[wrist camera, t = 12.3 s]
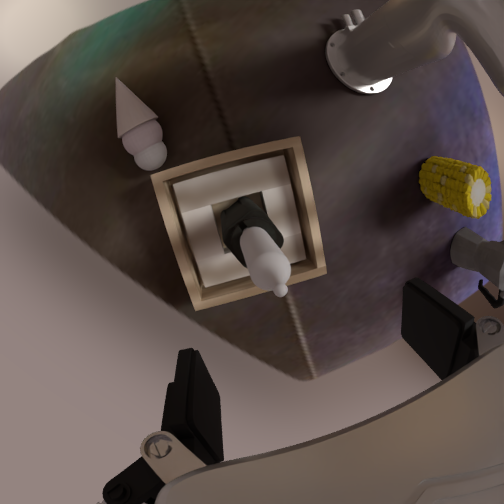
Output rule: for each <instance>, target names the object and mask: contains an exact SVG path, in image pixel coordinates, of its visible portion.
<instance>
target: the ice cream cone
mask: <svg viewBox="0 0 504 504" xmlns="http://www.w3.org/2000/svg"><path fill="white" fill-rule="evenodd" d="M116 115H117V133H118V138H121V137H122V142H123V145H124V147H125V149H126V150H127V151H128V152H129V153H130V154H131V155H134V159H135V162H136V164H137V165H138V166H139V167H140V168H142V169H144V170H148V171H151V170H155V169H158V168H159V167H161V166H162V165H163V163H164V162H165V160H166V157H167V149H166V146H165V144H164V143H163V142H162V136H163V134H162V129H161V126H160V125H159V123H158V122H157V121H156V119H157V118H158V116H157V115H156V114H155V113H154V112H153V111H152V110H151V109H150V108H149V107H147V106H146V105H145V104H144V103H143V102H142V101H141V100H140V99H139V98H138V97H137V96H136V95H135V94H134V93H133V92H132V91H131V90H129V89H128V88H127V87H126V86H125V85H124V84H123V83H122V82H121V81H120V80H119V79H118V78H116Z"/></svg>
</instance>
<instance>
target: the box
mask: <svg viewBox="0 0 504 504" xmlns="http://www.w3.org/2000/svg"><path fill="white" fill-rule="evenodd" d="M150 176H151V179H152V183H153V186H154V190H155V193H156V197H157V200H158V203H159V207H160V210H161V213H162V216H163V220H164V223H165V226H166V229H167V232H168V235H169V238H170V241H171V244H172V247H173V250H174V253H175V256H176V259H177V262H178V265H179V268H180V271H181V273H182V276H183V279H184V282H185V284H186V287H187V290H188V293H189V295H190V298H191V301H192V303H193V306H194V308H195V311H197V310H201V309H205V308H209V307H213V306H217V305H220V304H224V303H228V302H231V301H235V300H239V299H242V298H246V297H250V296H253V295H257V294H260V293H264V292H267V290H263V289H260V288H258V287H257V286H256V285H255V284H254V283H253V281H252V280H251V277H250V274H249V271H248V268H246V267H244V266H243V265H242V264H241V263H240V262H239V261H238V260H237V258H236V257H235V256H234V255H233V254H232V253H231V251H230V250H229V249H228V248H227V247H226V245H225V244H224V242H223V238H222V228H221V218H220V215H221V212H222V211H223V210H226V209H227V208H229V207H230V206H231V205H232V204H234V203H235V202H236V201H237V200H238V198H239V197H242V196H246V197H248V198H250V199H251V200H252V201H253V202H254V203H255V204H256V205H257V206H259V207H260V208H261V209H262V210H263V211H264V212H265V213H266V214H267V215H268V217H269V218H270V219H271V221H272V222H273V223H274V224H275V226H276V227H277V228H278V230H279V231H280V232H281V234H282V235H283V238H284V243H283V246H282V248H281V249H280V250H281V251H282V252H283V254H284V255H285V256H286V257H287V259H288V261H289V262H290V266H291V274H290V277H289V279H288V281H287V282H286V283H285V285H286V286H288V285H291V284H294V283H298V282H301V281H304V280H308V279H311V278H314V277H317V276H321V275H324V274H327V271H326V265H325V258H324V252H323V246H322V240H321V234H320V229H319V223H318V218H317V213H316V207H315V202H314V197H313V192H312V188H311V183H310V178H309V174H308V169H307V165H306V160H305V156H304V152H303V147H302V143H301V139H300V136H298V137H293V138H287V139H282V140H277V141H273V142H268V143H263V144H259V145H254V146H250V147H246V148H242V149H238V150H234V151H230V152H226V153H222V154H218V155H214V156H211V157H207V158H204V159H200V160H197V161H193V162H190V163H186V164H183V165H180V166H177V167H174V168H170V169H167V170H164V171H161V172H158V173H155V174H152V175H150Z"/></svg>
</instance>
